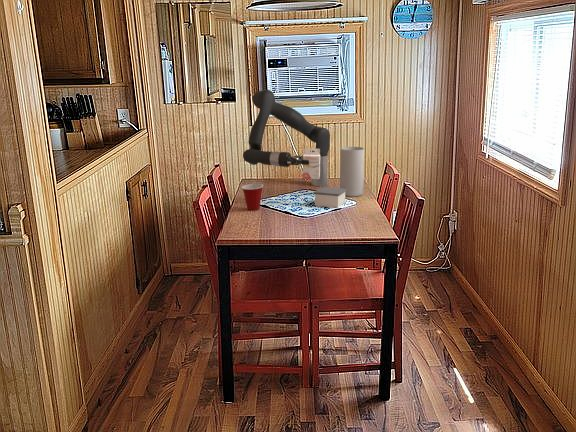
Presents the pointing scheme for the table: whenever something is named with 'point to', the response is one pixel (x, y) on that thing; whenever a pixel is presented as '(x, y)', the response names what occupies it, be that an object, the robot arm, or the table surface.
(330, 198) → the podium
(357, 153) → the cylinder vase
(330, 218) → the table surface
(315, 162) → the ink cartridge box
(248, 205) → the plastic cup
